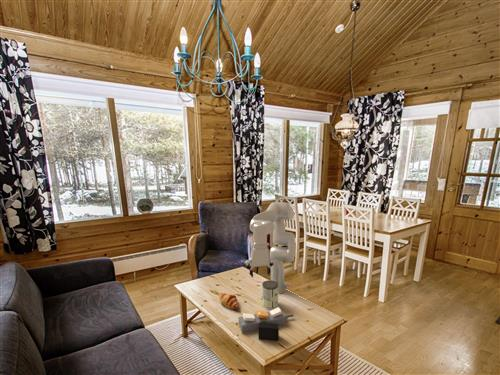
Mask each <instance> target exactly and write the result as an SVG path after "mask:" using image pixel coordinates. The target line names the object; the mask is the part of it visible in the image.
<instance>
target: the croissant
mask: <svg viewBox="0 0 500 375" xmlns="http://www.w3.org/2000/svg"><path fill="white" fill-rule="evenodd" d="M219 300H220V301H219V302H220V304H221V305H223V306H224V307H226V308H228V309H231V310H238V309H239V307H240V306H239V302H238V298H237V296H236V295H235V294H234V293H226V292H221V293H220V294H219Z"/></svg>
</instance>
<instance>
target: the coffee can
mask: <svg viewBox="0 0 500 375" xmlns="http://www.w3.org/2000/svg"><path fill="white" fill-rule="evenodd" d="M261 286H262V289H261V290H262V294H261V295H262V297H261V298H262V306H263V308H265V309H267V310H273V309H276V308H278V307H279V293H278V283H277V282H275V281H272V280H271V279H269V280H264V281H263V282H262V285H261Z"/></svg>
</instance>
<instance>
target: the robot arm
mask: <svg viewBox="0 0 500 375" xmlns="http://www.w3.org/2000/svg"><path fill="white" fill-rule="evenodd" d="M294 213H295V212H294V209H293V207H292V205H291V204H290V203H289V202H283V201H282V202H281V201H280V202H279V201H274V202H271V203H270V204H269V206H268V207H267V209H265V210H264V211H262V212H260V213H257V214H255V215H254V216H253V217H252V219H251V220H250V223H249V230H250V231H251V232H252V233H253V236H252V237H253V238H252V240H253V244H252V246H253V247H251V249H250V250H251V251H250V258H249V259H247V260H245V262H244V264H245V266H246V267H247V268H248V270H249V275H250V276H251V278H254V270H253V269H254V268H255V267H256V268H257V267H265V266H266V274H267V276H270V280H272V281H275V282H277V283H278V294H283V293H286V291H287V287H291V283H290V282H289V283H288V282H285V265H284V262H287V263H293V262H294V260H295V251H296V250H295V248H296V236H295V234H294V233H293V232H290V231H289V232H288V231H286V223H285V222H284V220H285V221H292V219H294V215H295V214H294ZM270 234H272V242H273V244H275V245H276V246H272V247H271V248H270V249H269V247H268V246H270V242H267V241H268V235H270ZM277 245H279V246H277ZM283 246H287V247H283Z"/></svg>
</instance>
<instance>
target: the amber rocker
mask: <svg viewBox="0 0 500 375" xmlns="http://www.w3.org/2000/svg"><path fill="white" fill-rule="evenodd" d="M267 312H268V311H264V310H262V311H261V310H256V313H255V314H257V316H258V318H267V319H268V317H269V315H268V314H267Z"/></svg>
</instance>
